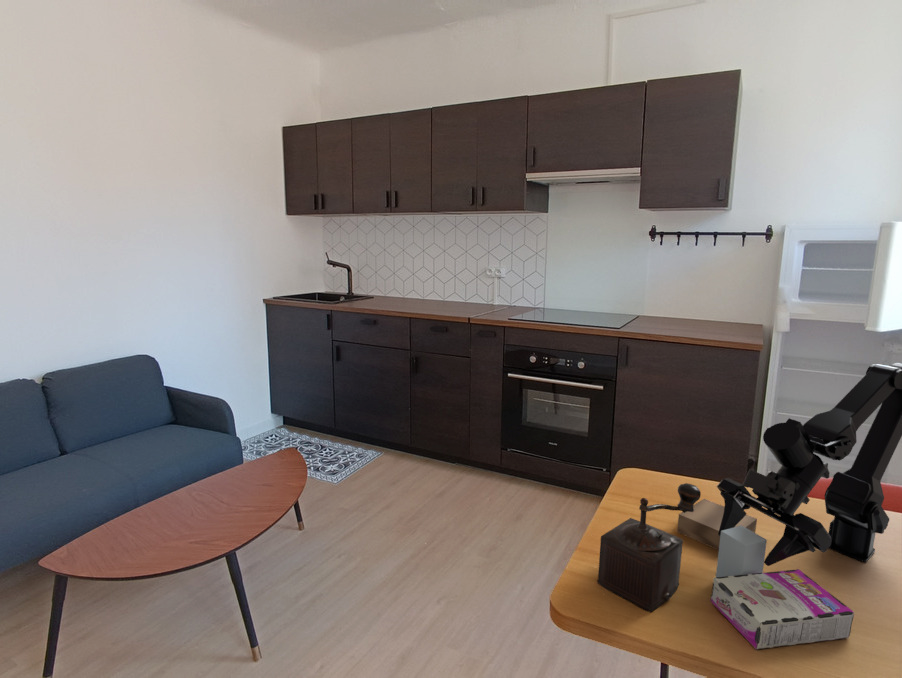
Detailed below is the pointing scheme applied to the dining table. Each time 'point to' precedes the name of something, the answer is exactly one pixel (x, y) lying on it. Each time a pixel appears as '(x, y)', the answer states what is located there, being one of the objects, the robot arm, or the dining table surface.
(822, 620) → the candy bar box
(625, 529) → the manual coffee grinder
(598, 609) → the dining table surface
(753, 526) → the walnut block
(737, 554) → the grey-blue block
